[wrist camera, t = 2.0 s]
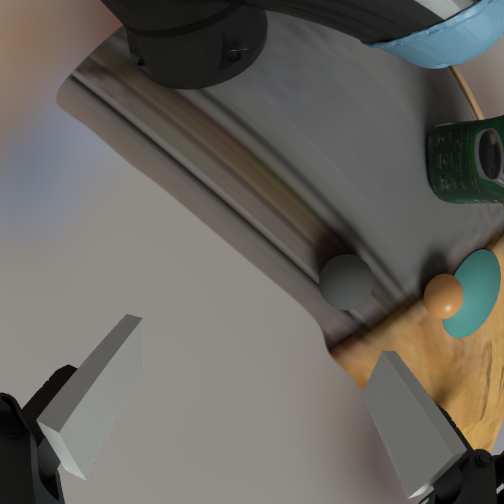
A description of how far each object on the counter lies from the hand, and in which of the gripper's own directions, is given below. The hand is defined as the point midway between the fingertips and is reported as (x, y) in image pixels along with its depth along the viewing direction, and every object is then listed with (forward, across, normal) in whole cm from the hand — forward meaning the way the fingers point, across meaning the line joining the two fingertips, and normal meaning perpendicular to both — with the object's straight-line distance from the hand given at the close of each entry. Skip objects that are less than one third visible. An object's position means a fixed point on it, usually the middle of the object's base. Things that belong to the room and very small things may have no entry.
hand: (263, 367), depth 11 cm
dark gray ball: (+15, +9, 0) cm, 17 cm away
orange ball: (+15, +23, 0) cm, 27 cm away
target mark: (+18, +33, 0) cm, 37 cm away
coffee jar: (+18, +21, +16) cm, 32 cm away
